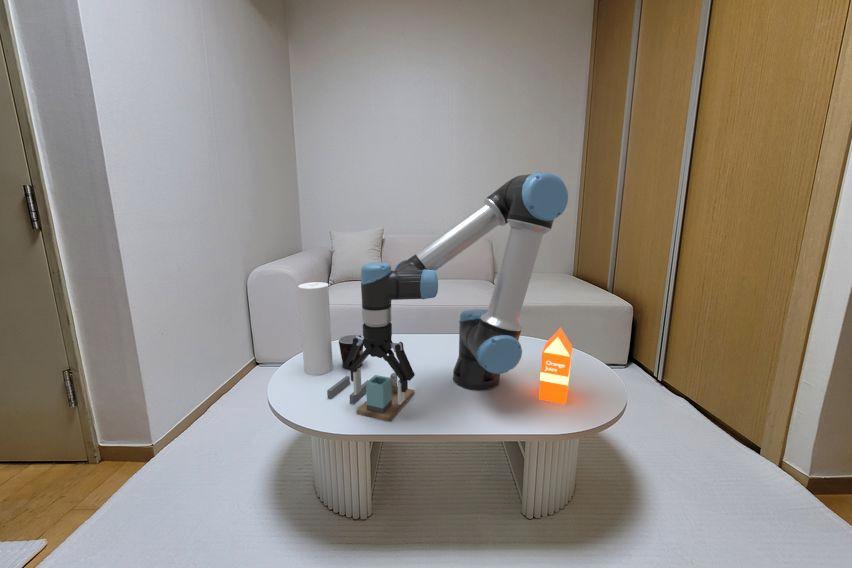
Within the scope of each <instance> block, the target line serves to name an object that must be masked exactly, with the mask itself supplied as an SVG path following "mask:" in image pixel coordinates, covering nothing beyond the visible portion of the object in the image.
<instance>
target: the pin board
mask: <svg viewBox="0 0 852 568" xmlns="http://www.w3.org/2000/svg"><path fill="white" fill-rule="evenodd" d="M389 378H391V384H392V405H391V406H390V407H389V408H388V409H387V410H386V412H385V413H384V414H382V413H377V412H373V411H369V410H367V400H366V401H365V402H363V403H362V404H361V405H360V407H358V408H357V409H356V415H359V416H363V417H367V418H372V419H376V420H380V421H384V422H388V423H390V422H391V421H393V419H394V418H395V417H396V416H397V414H399V412H400V411H401V410H402V408H403V407H404V406H405V405H406V403H407V402H409V400H410V399H411V398H412V397H413V395H415V389H412V388H408V389H407V391H406V392H405V400H404V401H403V402H402V404H401V405H399V404H398V376H397V375H396V373H395V372H392V373H391V374H390V377H389Z"/></svg>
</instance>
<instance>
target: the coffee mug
mask: <svg viewBox="0 0 852 568" xmlns="http://www.w3.org/2000/svg"><path fill="white" fill-rule="evenodd" d="M357 336H359V334H346V335H343V336H341V337H339V338H338V345H339V350H340V356H341V363H342V367H343V369H344V370H347V371H350V370H349V369H348V368H347V369H346V368H344V364H345V362H346V360H347V357H348V355H349V353H350V350H351V348H352V346H353V339H354V338H355V337H357ZM360 336H361V338H364V337H363V335H360ZM363 352H364V345H363V343H362V345H361V346H360V348H359V350H358V353H357V355H356V357H355V359H354V362H353V364H354V363H355V362H356V361H357V359H358V358H359V357H360V356H361V355H362V353H363ZM362 363H363V362H362ZM362 363H361V365H360V366H359V367H358V368H357V369H361V368H362V365H363V364H362Z"/></svg>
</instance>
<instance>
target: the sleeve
mask: <svg viewBox="0 0 852 568" xmlns="http://www.w3.org/2000/svg"><path fill="white" fill-rule="evenodd" d="M368 380H369V381H368V382H366V381H365V382H366V393H365V394H366V401H367V410H369V411H373V412H377V413H382V414H384V413H385V412H386V410H387V409H388V408H389V407H390V406H391V405H392V384H391V378H390V377H388V376H383V375H378V374H377V375H376V374H375V375H374V376H372V377H371V378H370V379H368Z"/></svg>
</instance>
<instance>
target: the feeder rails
mask: <svg viewBox="0 0 852 568" xmlns="http://www.w3.org/2000/svg"><path fill="white" fill-rule="evenodd" d="M369 380H370V379H366V381H364V382H363V383H361V391H360V392H359V393H358V394H357V395H354V391H353V392H352V393H351V394H349V404H352V405H354V404H355V403H356V402H358V401H359V400H360V399H361V398H362V397H363V396H364V395H365V394H366V382H368V381H369ZM349 385H351V375H349V376H348V375H346V376H344V377H343V378H342V379H340V380H339V381H338V382H337V383H335V384H334V385H332V386H331V387H330V388H328V389H327V390H326V393H327V399H331V400H332V399H333V398H334V397H335V396H337V395H338V394H339V393H340V392H342V391H343V390H344V389H345V388H347V387H348V386H349Z"/></svg>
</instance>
